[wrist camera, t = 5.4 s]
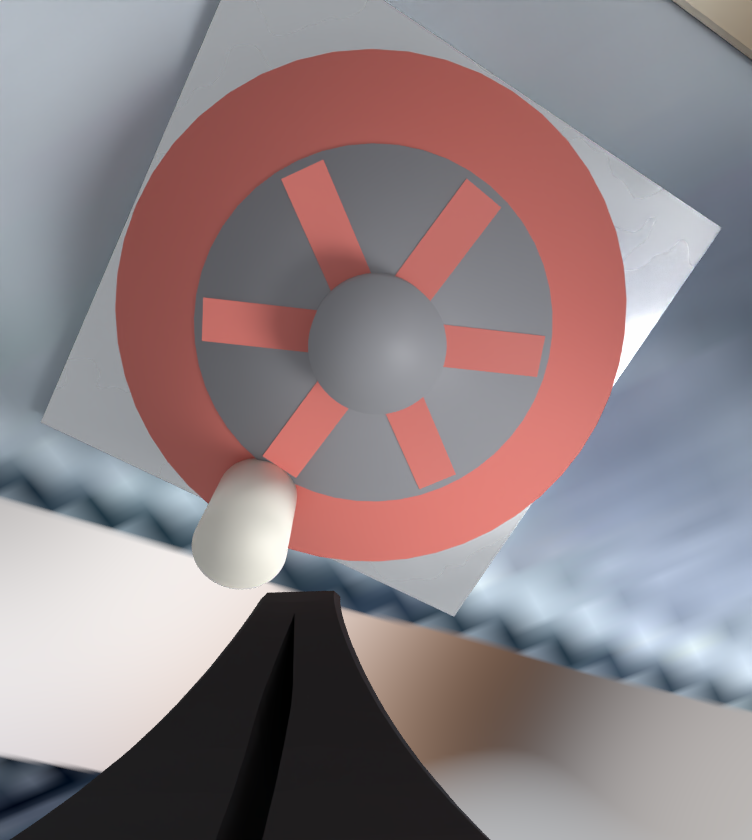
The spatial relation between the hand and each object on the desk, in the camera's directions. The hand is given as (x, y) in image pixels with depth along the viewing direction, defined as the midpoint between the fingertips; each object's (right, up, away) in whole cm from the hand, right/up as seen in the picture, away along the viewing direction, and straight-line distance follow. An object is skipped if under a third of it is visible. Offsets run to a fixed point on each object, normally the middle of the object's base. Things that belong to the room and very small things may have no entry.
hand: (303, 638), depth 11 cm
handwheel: (+1, +7, +5) cm, 8 cm away
